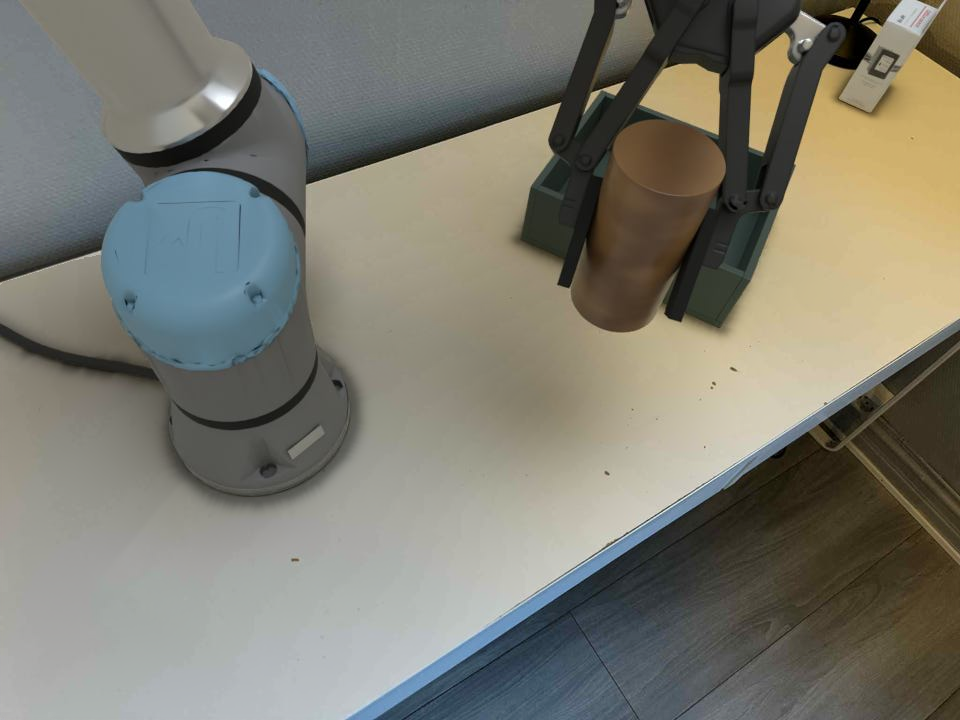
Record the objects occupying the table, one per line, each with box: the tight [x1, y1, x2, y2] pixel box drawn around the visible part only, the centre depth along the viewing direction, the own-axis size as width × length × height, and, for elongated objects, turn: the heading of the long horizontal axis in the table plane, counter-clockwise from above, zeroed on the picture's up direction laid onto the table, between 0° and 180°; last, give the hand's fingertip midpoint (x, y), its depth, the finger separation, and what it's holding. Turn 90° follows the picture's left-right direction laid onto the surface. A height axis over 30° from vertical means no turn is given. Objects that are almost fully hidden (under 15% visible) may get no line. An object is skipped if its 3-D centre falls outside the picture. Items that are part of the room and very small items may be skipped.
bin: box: [520, 89, 797, 328], centre depth 74 cm, size 24×20×8 cm
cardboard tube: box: [570, 120, 726, 334], centre depth 40 cm, size 6×6×12 cm
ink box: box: [838, 0, 948, 113], centre depth 90 cm, size 8×5×15 cm, turn 143°
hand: (617, 300), depth 40 cm, fingers closed on cardboard tube, 6 cm apart
